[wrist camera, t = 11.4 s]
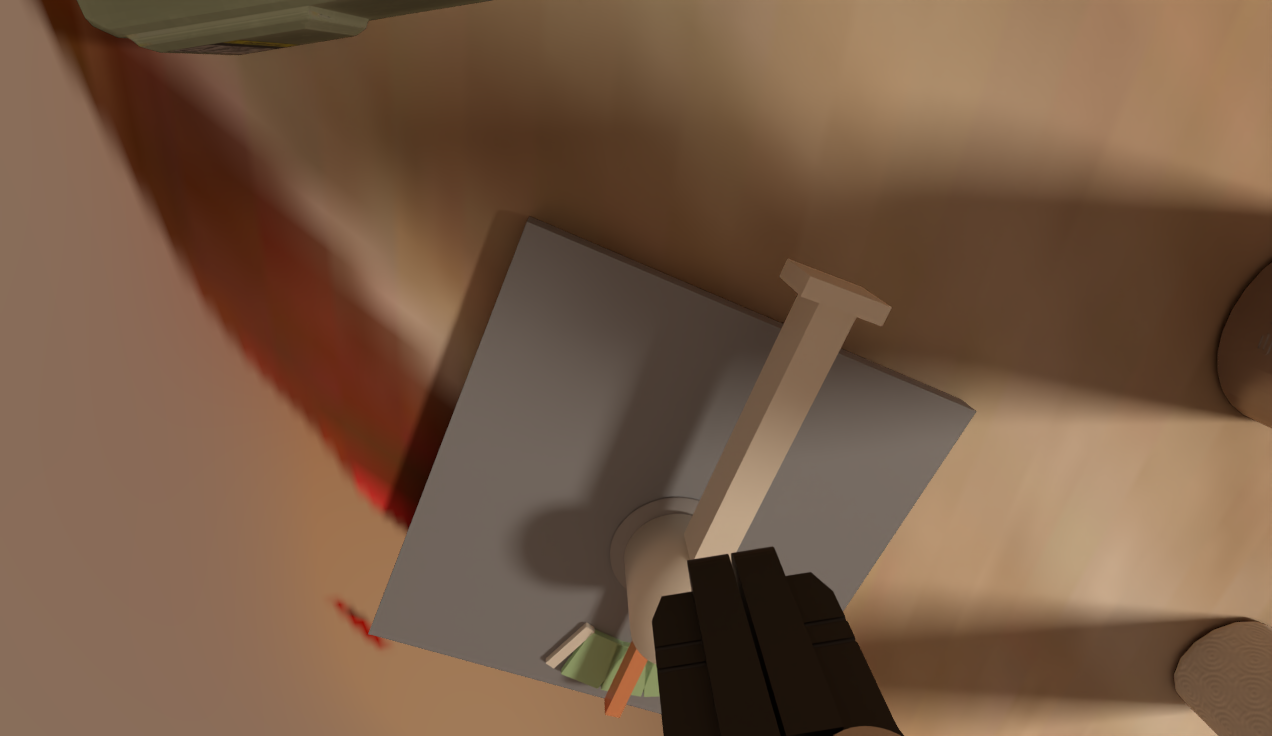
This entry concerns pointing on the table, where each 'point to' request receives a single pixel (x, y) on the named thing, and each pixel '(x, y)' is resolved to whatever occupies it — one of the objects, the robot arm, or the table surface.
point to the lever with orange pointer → (741, 458)
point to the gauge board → (632, 464)
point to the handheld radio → (243, 21)
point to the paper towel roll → (1230, 679)
